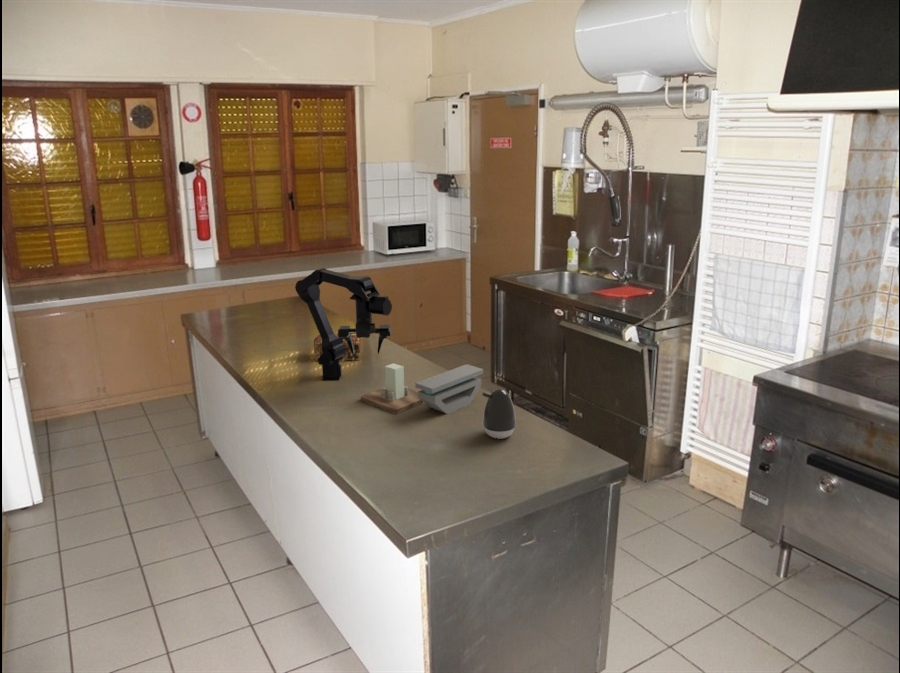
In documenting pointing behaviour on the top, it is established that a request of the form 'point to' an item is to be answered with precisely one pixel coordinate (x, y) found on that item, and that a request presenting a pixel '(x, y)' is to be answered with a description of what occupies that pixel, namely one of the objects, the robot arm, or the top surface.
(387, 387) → the pale panelled upright block
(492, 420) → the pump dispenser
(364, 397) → the tan board with pegs
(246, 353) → the top surface
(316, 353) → the bread
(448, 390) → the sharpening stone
